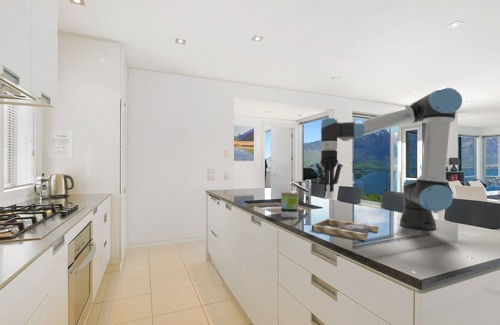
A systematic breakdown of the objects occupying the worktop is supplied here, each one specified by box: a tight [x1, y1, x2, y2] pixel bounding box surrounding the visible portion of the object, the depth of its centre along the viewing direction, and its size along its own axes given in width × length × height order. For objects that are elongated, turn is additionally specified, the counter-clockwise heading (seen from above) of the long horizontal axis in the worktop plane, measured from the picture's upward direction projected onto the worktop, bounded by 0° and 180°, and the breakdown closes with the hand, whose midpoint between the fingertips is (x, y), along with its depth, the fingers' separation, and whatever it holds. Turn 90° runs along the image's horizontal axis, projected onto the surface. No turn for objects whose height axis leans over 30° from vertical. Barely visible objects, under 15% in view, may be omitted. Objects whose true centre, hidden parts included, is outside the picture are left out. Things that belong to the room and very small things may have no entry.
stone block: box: [336, 223, 369, 235], centre depth 114 cm, size 12×5×10 cm
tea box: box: [280, 190, 299, 219], centre depth 155 cm, size 15×10×15 cm
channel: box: [311, 218, 379, 241], centre depth 117 cm, size 24×18×2 cm
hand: (329, 198), depth 122 cm, fingers closed
